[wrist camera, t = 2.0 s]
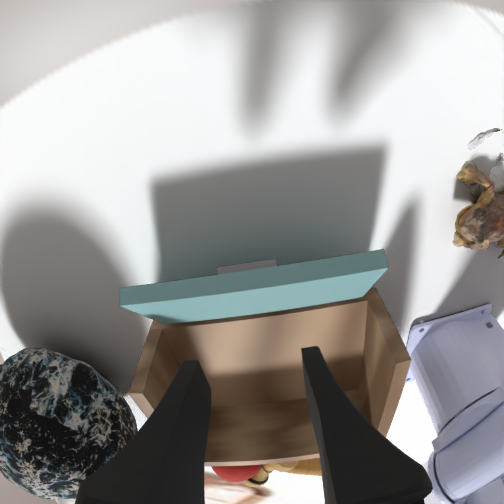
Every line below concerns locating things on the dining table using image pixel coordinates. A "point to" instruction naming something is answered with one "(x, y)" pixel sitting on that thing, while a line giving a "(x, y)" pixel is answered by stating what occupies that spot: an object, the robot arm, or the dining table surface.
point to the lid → (257, 288)
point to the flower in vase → (65, 501)
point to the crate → (277, 374)
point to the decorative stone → (58, 422)
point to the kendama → (267, 471)
